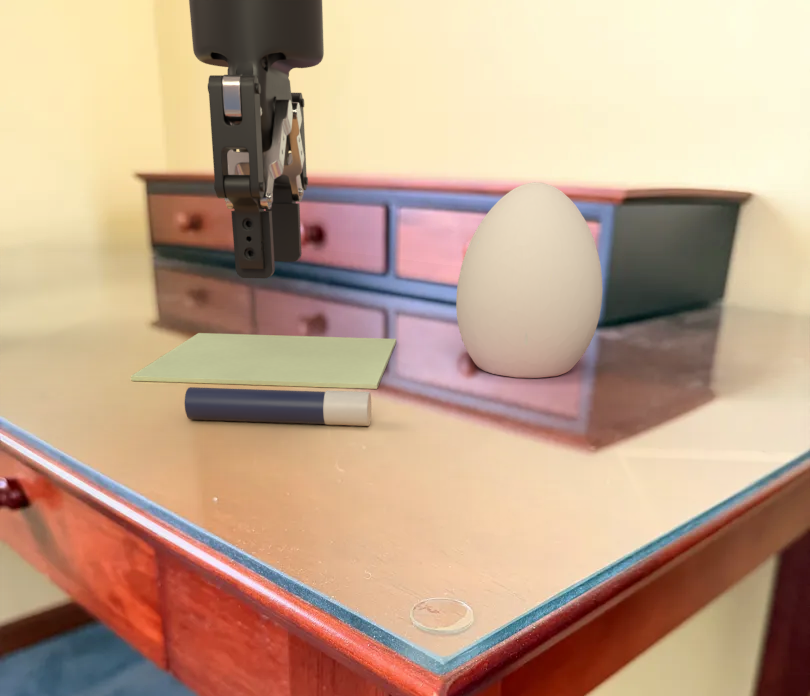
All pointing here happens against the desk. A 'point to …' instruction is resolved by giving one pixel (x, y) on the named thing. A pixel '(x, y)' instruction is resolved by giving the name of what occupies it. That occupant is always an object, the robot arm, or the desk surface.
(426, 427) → the desk surface
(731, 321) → the desk surface
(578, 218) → the decorative egg
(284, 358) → the desk mat
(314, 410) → the marker
